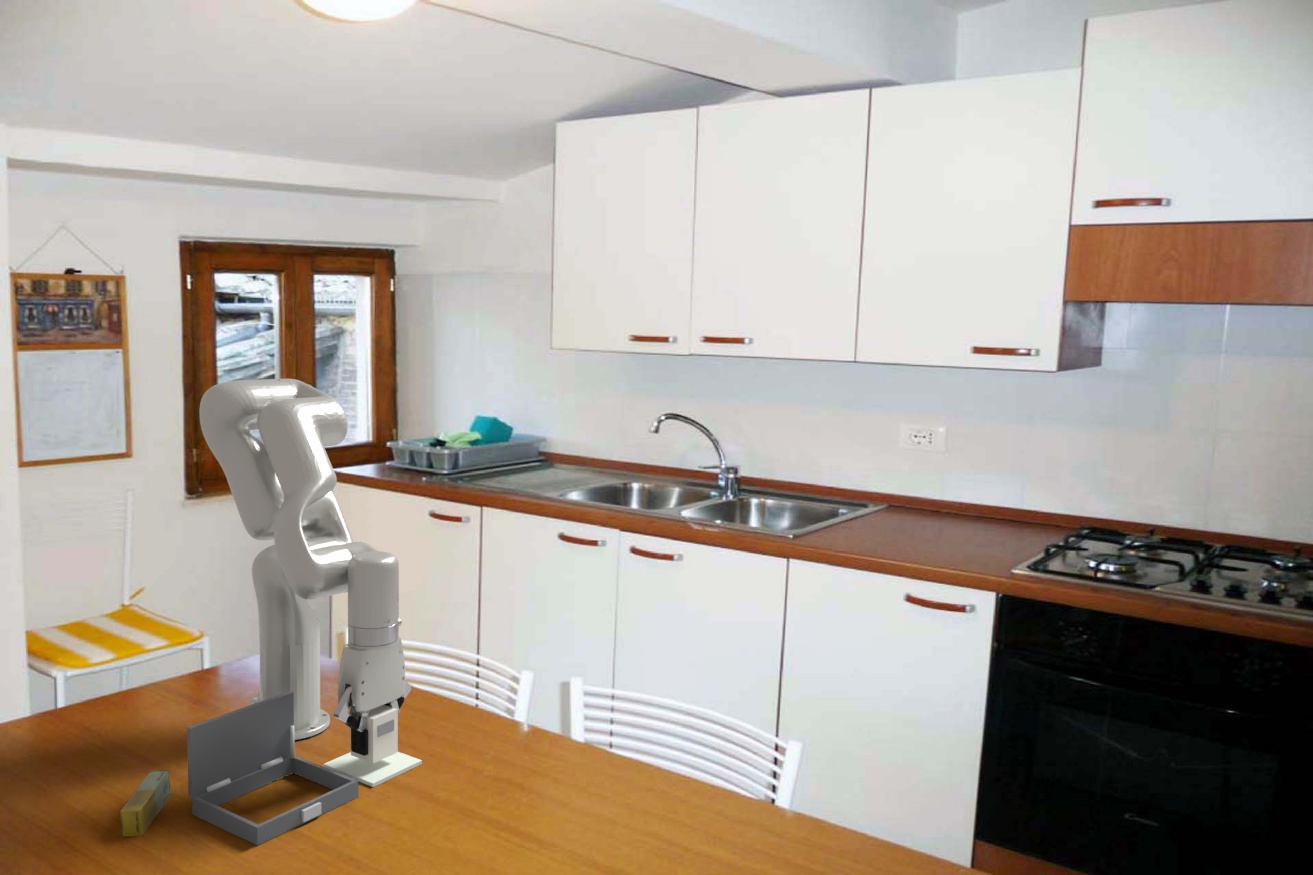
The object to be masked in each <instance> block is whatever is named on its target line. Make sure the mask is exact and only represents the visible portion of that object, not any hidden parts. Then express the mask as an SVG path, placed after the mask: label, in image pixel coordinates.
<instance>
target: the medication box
mask: <svg viewBox="0 0 1313 875" xmlns="http://www.w3.org/2000/svg"><path fill="white" fill-rule="evenodd" d="M170 797H171V781H170V773H169V770H168V769H161V770H159V769H158V770H150V772H149V773H148V774H147V776H145V777H144V779H143V781H142V782H141V783H140V785H139V786H138V787H137V788H136V790H135V791H134V793H133V794H132V795H131V797H130V798H129V800H128V801H126V803H125V804H124V806H123V807H122V808H121V810H120V825H121V826H120V828H121V832H122V837H140V836H143V835H144V834H145V832H146V831H147V829H148V828H149V827H150V825H151V824H152V822H154V820H155V818H156V817H157V816H158V814H159V812H160V811H161V810H162V808H163V807H164V806H165V805H166V803H167V801H168V800H169V798H170Z"/></svg>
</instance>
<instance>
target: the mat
mask: <svg viewBox="0 0 1313 875" xmlns="http://www.w3.org/2000/svg"><path fill="white" fill-rule="evenodd" d="M422 764H423V760H422V759H419V758H417V757H414V756H412V755H409V754H406V753H403V752H400V751H398V752H397V753H395V754H393V755H391V756H388V757H386V758H384V759H382V760H380V761H377V762H375V763H371V762H368V761H365V760H363V759H360V758H357V757H355V756H352V755H351V751H350V752H348V753H345V754H343V755H340V756H338V757H336V758H334V759H332V760H330V761H327V762H325V763H323V764H322V765H323V766H322V767H325V768H327V769H330V770H332V771H335V772H338V773H340V774H343V775H345V776H348V777H350V778H353V779H355V780H358V783H361V784H364V785H366V786H369V787H371V788H374V787H377V786H379V785H382V784H383V783H386V782H387V781H389V780H391V779H394V778H396V777H398V776H400V775H402V774H404V773H406V772H408V771H410V770H412V769H414V768H417V767H419V766H421V765H422Z"/></svg>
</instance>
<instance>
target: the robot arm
mask: <svg viewBox="0 0 1313 875" xmlns="http://www.w3.org/2000/svg"><path fill="white" fill-rule="evenodd" d="M199 424H200V427H201V432H202V436H203V437H204V439H205V442H206V444H207V445H208V448H209V450H210V451H211V453H212V454H213V456H214V458H215V459H216V461H217V462H218V465H220V467H221V469H222V471H223V473H224V475H225V478H226V480H227V484H228V486H229V489H230V492H231V496H232V497H233V500H234V503H235V505H236V509H237V512H238V514H239V517H240V519H241V522H242V524H243V526H244V530H245V531H246V532H247V534H248V535H249V536H250V537H251V538H252V539H255V540H257V541H272V540H273V541H274V544H272V545H269V546H267V547H266V548H264V549H262V550H261V551H259V553H258V554H256V556H255V558H254V559H253V562H252V564H251V577H252V582H253V587H254V592H255V596H256V602H257V603H256V604H257V610H258V611H257V612H258V628H259V629H258V631H259V634H258V635H259V691H258V692H257V694H256V697H252V698H251V699H250V702H249V703H250V704H249V705H252V704H255V703H258V702H261V701H264V700H267V699H269V698H272V697H275V696H278V695H281V694H284V693H287V692H289V691H291V692H294V741H297V740H302V739H306V738H310V737H313V736H316V735H318V734H320V733H322V732H324V731H325V730H326V729H327V728H328V727H329V725H330V723H331V717H330V714H329V713H328V712H327V711H326V710H324V709H322V708H321V630H320V629H321V627H320V626H321V624H320V620H319V618H318V615H317V614H316V613H315V611H314V610H313V609H312V607H311V606H310V605H309V603H308V601H307V600H317V599H322V598H326V597H331V596H335V595H338V594H344V593H347V643H346V644H344V646H343V648H342V652H341V658H340V662H339V671H338V683H337V684H338V686H337V702H338V703H337V706H336V708H335V710H334V712H333V717H334V718H335V719H337V720H338V721H339V720H340V721H341V722H342V723H343V724H345V725H346V727H347V728H349V729H350V751H351V750H352V752H355V753H358V754H360V755H363V756H365V755H367V754H368V730H366V729H365V726H366V721H367V716H368V712H369V710H372V709H374V708H377V707H379V706H382V705H386V706H389V707H392V708H396V709H398V717H399V715H400V714H401V711H400V709H401V708H402V705H403V704H404V703H405V699H406V698H407V696H408V695H409V694H410V692H411V691H412V686H411V684H409V682H408V681H407V680H406V664H405V663H406V662H405V655H404V648H403V642H402V639H401V638H402V637H400V634H399V633H400V632H399V631H400V628H399V627H401V626H402V620H401V619H400V618H399V617H400V615H399V614H400V587H399V586H400V572H399V571H400V566H399V560H398V558H397V557H396V555H394V554H393V553H390V552H387V551H379V550H377V548H374V547H373V546H371V545H370V544H368V543H366V542H361V541H354V540H353V538H352V534H351V532H350V530H349V526H348V524H347V521H346V519H345V517H344V514H343V512H342V509H341V507H340V504H339V502H338V499H337V497H336V495H335V493H334V492H333V489H334V488H335V487H336V485H337V483H338V481H337V480H338V478H337V474H336V472H335V469H334V467H333V465H332V463H331V461H330V458H329V455H328V453H327V451H326V449H325V448H326V447H334V446H337V445H339V444H340V443H342V442H343V441H344V440H345V438H346V437H347V434H348V428H349V425H348V424H349V423H348V418H347V415H346V412H345V410H344V408H343V407H342V406H341V404H340V403H339V402H338V400H336V399H335V398H334V397H333V396H330V395H329V394H327V393H325V392H324V391H322V390H320V389H318V388H316V387H314V386H312V385H310V384H308V383H307V382H304V381H301V380H299V379H295V378H269V379H268V378H266V379H262V378H261V379H239V380H237V379H235V380H230V381H229V380H228V381H224V382H220V383H217V384H215V385H212V386H211V387H210V388H208V389H207V390H206V391H205V392H204V393H203V395H202V397H201V400H200V404H199ZM252 430H253V431H256V430H258V433H259V435H260V437H261V440H262V441H261V440H260V439H258V438H257V437H255V436H254V435H253V434H252V433H251V431H252ZM305 536H306V537H307V538H306V537H305ZM357 713H359V714H360V715H359V720H357V719H356V718H357Z"/></svg>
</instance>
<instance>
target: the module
mask: <svg viewBox="0 0 1313 875" xmlns="http://www.w3.org/2000/svg"><path fill="white" fill-rule="evenodd" d="M359 715H360V714H359V713H357V718H356V719H357V720H359ZM398 717H399V716H398V709H396V708H392V707H389V706H386V705H382V706H379V707H377V708H374V709H372V710H369V712H368V716H367V721H366V726H365V729H366V730H368V754H367V755H365V756H363V755H360V754H358V753H355V752H352V750H351V749H350V752H351V755H352V756H355V757H357V758H360V759H363V760H365V761H368V762H371V763H375V762H377V761H380V760H382V759H384V758H386V757H388V756H391V755H393V754H395V753H397V752H399V744H398V743H399V742H398V740H399V736H398V735H399V732H398V731H399V718H398Z"/></svg>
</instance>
